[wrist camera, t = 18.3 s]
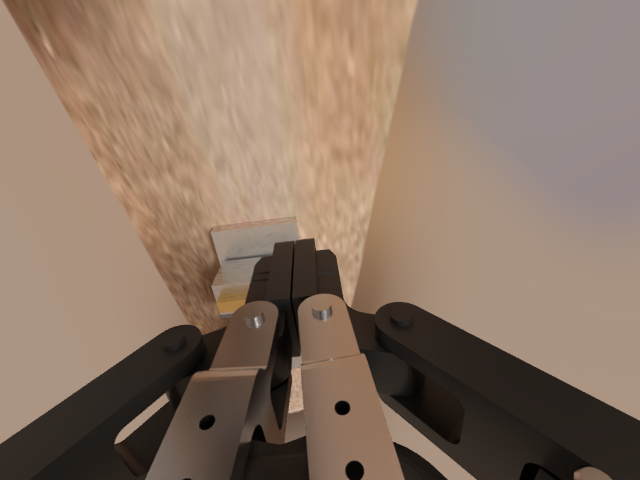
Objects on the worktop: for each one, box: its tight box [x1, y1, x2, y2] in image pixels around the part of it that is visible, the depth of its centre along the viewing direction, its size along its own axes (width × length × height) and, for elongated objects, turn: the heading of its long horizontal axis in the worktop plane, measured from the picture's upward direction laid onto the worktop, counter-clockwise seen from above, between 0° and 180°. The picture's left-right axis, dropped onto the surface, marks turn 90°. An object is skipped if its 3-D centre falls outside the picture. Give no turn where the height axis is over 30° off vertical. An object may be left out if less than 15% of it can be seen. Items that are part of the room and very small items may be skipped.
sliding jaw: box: [211, 256, 265, 319], centre depth 33 cm, size 4×8×6 cm, turn 97°
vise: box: [211, 217, 302, 369], centre depth 35 cm, size 16×9×6 cm, turn 7°
